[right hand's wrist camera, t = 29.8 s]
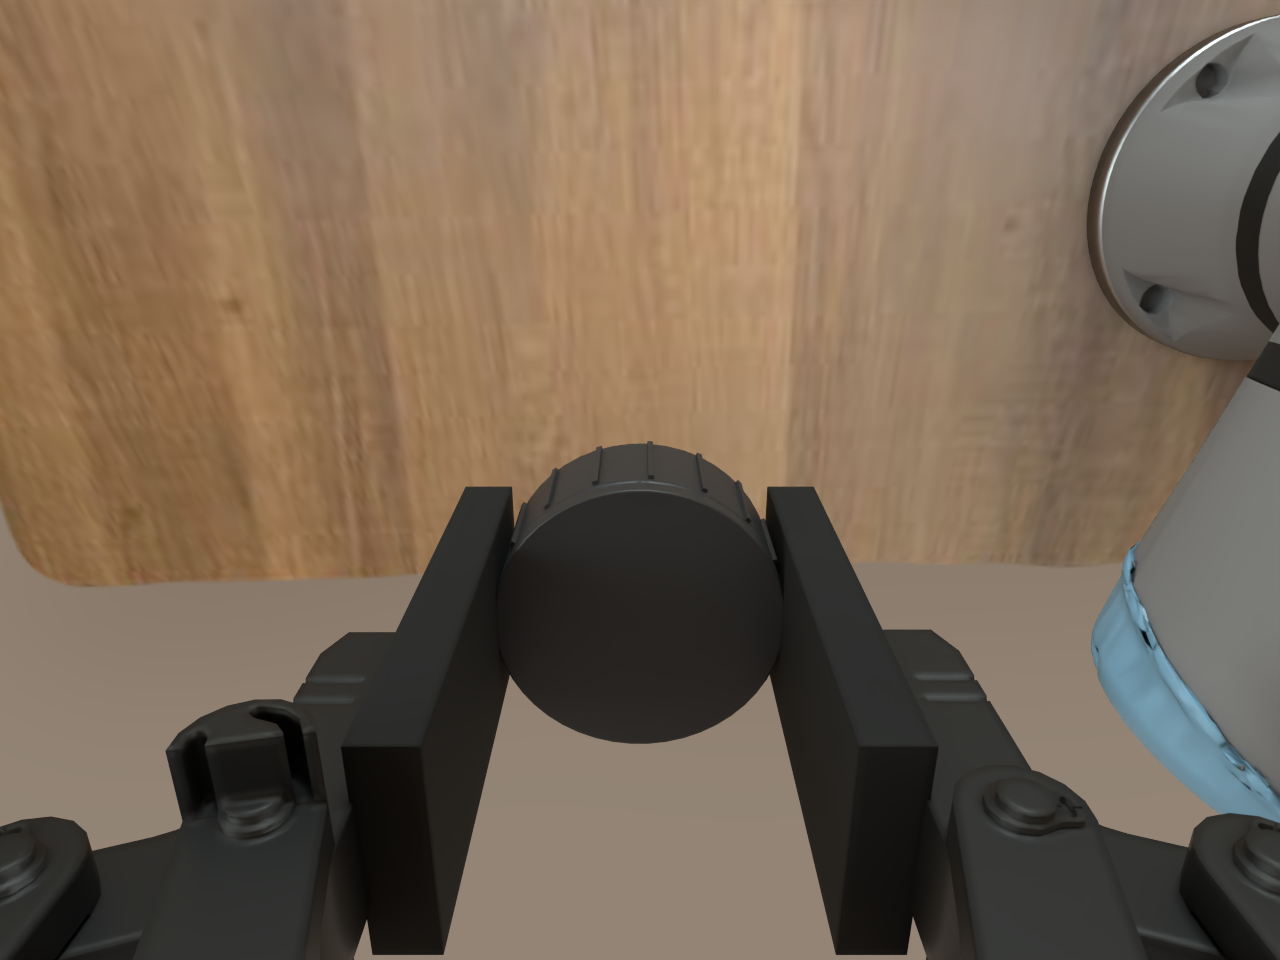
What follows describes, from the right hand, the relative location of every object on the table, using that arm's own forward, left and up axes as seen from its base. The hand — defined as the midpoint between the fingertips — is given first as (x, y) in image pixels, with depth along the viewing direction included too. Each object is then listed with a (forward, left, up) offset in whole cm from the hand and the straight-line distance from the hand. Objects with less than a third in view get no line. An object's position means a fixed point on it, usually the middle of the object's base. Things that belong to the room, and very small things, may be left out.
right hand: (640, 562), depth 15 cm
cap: (0, 0, +2) cm, 2 cm away
